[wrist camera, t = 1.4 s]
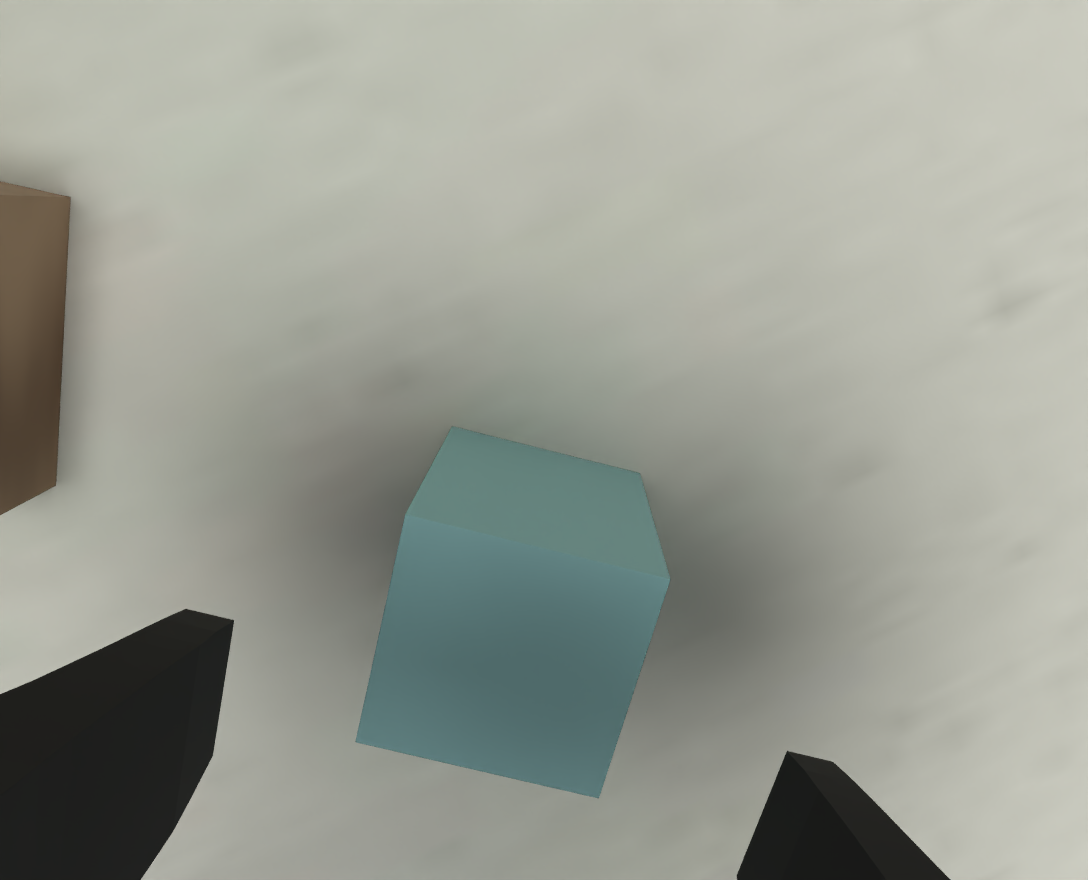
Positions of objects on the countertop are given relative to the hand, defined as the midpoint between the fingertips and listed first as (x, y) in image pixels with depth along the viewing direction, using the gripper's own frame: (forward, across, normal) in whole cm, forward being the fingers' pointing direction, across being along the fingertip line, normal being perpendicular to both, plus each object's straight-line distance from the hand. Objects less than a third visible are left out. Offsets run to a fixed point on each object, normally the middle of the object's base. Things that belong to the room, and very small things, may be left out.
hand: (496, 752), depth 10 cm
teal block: (+7, 0, 0) cm, 7 cm away
